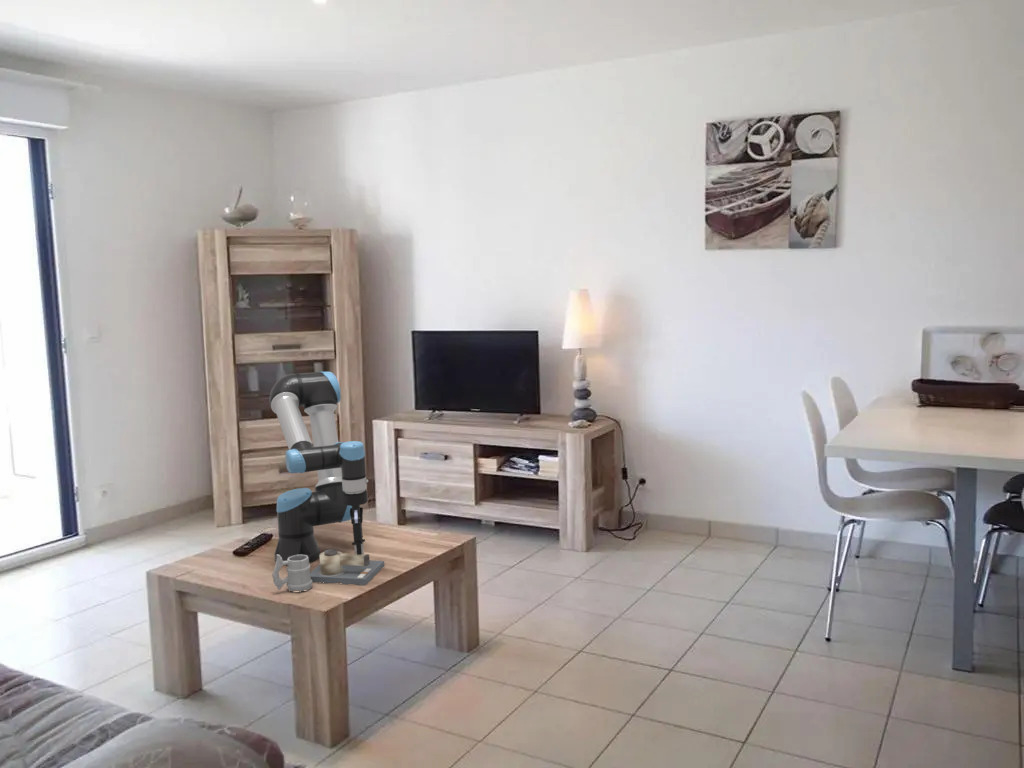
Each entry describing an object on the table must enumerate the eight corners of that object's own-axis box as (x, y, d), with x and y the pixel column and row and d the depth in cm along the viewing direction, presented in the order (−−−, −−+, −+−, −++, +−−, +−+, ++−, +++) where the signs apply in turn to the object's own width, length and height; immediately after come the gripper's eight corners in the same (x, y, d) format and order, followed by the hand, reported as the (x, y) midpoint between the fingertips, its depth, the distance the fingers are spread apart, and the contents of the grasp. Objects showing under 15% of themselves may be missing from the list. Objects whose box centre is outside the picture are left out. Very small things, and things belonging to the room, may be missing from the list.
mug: (315, 589, 260) (313, 552, 259) (276, 597, 255) (274, 559, 253) (308, 582, 267) (306, 545, 265) (270, 590, 261) (268, 552, 260)
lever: (316, 574, 267) (315, 554, 266) (326, 567, 274) (324, 547, 273) (364, 577, 263) (363, 556, 263) (372, 569, 270) (371, 549, 269)
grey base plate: (305, 582, 267) (305, 574, 266) (327, 564, 283) (327, 557, 283) (365, 585, 263) (365, 577, 262) (384, 566, 279) (384, 559, 279)
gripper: (366, 495, 261) (371, 568, 264) (367, 485, 273) (372, 555, 276) (341, 497, 260) (347, 571, 263) (343, 487, 272) (348, 557, 275)
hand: (360, 563), depth 269 cm, fingers closed
